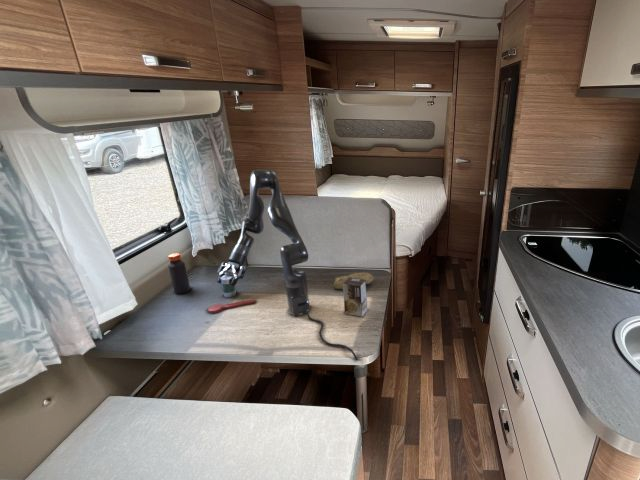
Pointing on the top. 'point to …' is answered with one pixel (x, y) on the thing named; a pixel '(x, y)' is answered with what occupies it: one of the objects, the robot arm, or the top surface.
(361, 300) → the coffee box
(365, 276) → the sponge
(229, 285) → the can
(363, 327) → the top surface
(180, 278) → the bottle
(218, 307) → the spoon
